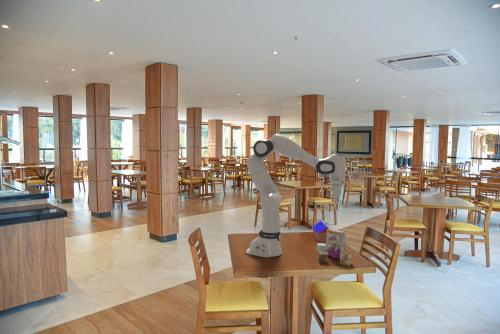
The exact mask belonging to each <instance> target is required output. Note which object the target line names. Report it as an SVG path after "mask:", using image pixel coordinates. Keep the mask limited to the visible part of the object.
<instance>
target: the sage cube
mask: <svg viewBox="0 0 500 334" xmlns="http://www.w3.org/2000/svg"><path fill="white" fill-rule="evenodd" d="M316 251H317V253H318V254H319V252H326V242H318V243H316Z"/></svg>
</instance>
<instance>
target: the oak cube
mask: <svg viewBox="0 0 500 334" xmlns="http://www.w3.org/2000/svg"><path fill="white" fill-rule="evenodd" d="M352 257H353V255H351V254H348V253H347V254H346V253H345V254H342V255H341V256H340V260H339V264H340V265H341V264H342V265H341V266H346V265H348V266H347V267H350V265H352V260H353V259H352Z"/></svg>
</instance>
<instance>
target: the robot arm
mask: <svg viewBox="0 0 500 334" xmlns="http://www.w3.org/2000/svg"><path fill="white" fill-rule="evenodd" d="M252 151H253V155H251V156H249V157H248V158H247V160H246V166H247V170H248V173H249V175H250V177H251V180H252V182H253V184H254V186H255V188H256V189H257V191H258V192H259V193H260V195H261V199H260V201H259V202H260V208H261V209H260V210H261V220H262V225H261V226H262V227H261V229H260V230H259V232H258V236H257V237H256V238H254V239H253V240H252V241H251V242H250V245H249V247H248V248H247V249H246V250H245V251H246V252H245V253H246V254H247V255H252V256H257V257H262V258H267V259H268V258H272V257H279V256H280V255H281V256H282V255H283V252H282V248H281V236H282V235H281V218H280V205H281V204H282V201H283V197H282V194H281V193H280V191H279V189H278V187H277V185H276V184H275V183H274V181H273V180H272V177H271V175H270V173H269V171H268V169H267V167H266V164H265V160H266V159H267V158H268V157H269V156H270V155H271V153H272V152H274V153H275V152H276V153H278V154H280V155H282V156H283V157H286V158H289V159H291V160H298V161H302V162H303V163H306V164H308V165H309V166H311V167H312V168H314V170H315V171H316V172H317V173H318V174H319V175H320V176H327V175H330V181H329V183H330V184H331V188H332V189H331V192H332V197H333V198H334V205H338V204H339V203H340V197H341V195H342V191H343V190H342V188H343V187H344V185H345V184H346V168H347V167H346V166H347V165H346V157H345V156H344V155H341V154H338V153H333V154H331V155H330V156H328V157H325V158H320V157H316V156H315V155H312V154H311V153H309V152H307V151H305V150H304V149H303V147H302V146H301V145H300V144H298V143H297V142H296V141H294V140H293V139H291V138H289V137H288V136H287V137H286V136H284V135H281V134H278V133H275V134H273V135H272V136H271V137H270V138H269V139H259V140H256V142H255V143H254V144H253V146H252Z"/></svg>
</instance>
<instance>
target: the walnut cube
mask: <svg viewBox="0 0 500 334" xmlns="http://www.w3.org/2000/svg"><path fill="white" fill-rule="evenodd" d="M328 259H329V256H328V253H327V252H319V253H318V263H322V264H323V263H325V264H327V263H328V262H329V261H328ZM328 264H329V263H328Z"/></svg>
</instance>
